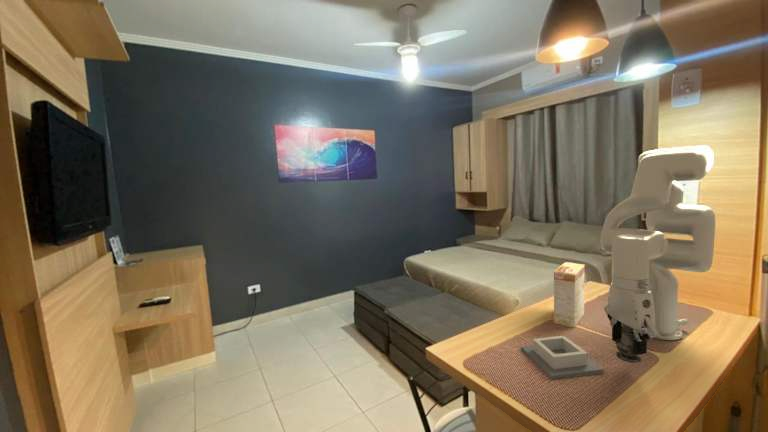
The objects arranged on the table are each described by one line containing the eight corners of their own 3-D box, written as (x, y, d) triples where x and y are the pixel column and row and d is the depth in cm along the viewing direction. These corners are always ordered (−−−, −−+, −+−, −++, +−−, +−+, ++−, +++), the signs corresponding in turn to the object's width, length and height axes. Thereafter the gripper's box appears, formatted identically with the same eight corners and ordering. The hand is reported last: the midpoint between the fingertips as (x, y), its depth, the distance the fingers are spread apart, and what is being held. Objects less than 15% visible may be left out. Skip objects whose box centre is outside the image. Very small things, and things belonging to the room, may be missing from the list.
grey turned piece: (647, 364, 80) (649, 320, 78) (621, 363, 81) (622, 320, 80) (634, 351, 86) (635, 309, 84) (610, 350, 87) (610, 309, 85)
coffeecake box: (564, 309, 124) (564, 261, 122) (585, 313, 120) (585, 264, 117) (552, 322, 114) (552, 271, 112) (575, 328, 109) (575, 274, 107)
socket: (565, 344, 99) (565, 331, 99) (603, 372, 84) (603, 357, 84) (520, 349, 98) (520, 335, 97) (551, 379, 83) (551, 363, 82)
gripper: (676, 292, 73) (674, 363, 75) (615, 270, 90) (614, 329, 92) (647, 296, 72) (645, 368, 74) (590, 273, 89) (590, 332, 91)
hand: (628, 346), depth 83 cm, fingers closed on grey turned piece, 5 cm apart
